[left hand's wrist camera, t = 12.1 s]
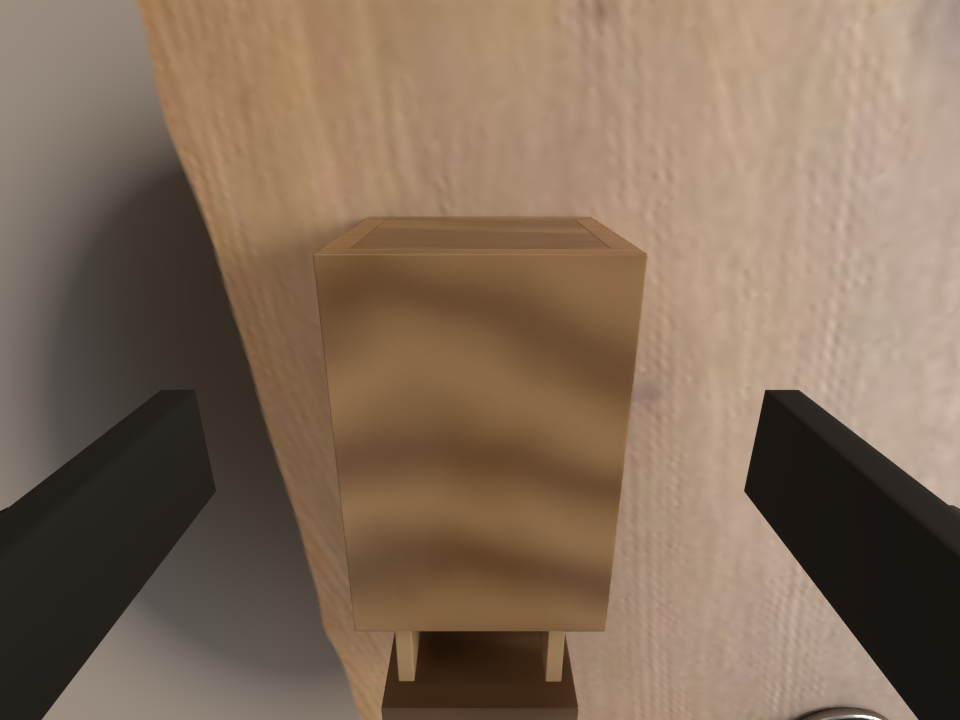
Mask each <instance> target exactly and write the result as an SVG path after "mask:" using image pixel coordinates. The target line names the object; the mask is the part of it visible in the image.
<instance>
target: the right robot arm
mask: <svg viewBox="0 0 960 720" xmlns="http://www.w3.org/2000/svg"><path fill="white" fill-rule="evenodd" d="M802 720H888V719H886V718H885V717H884V716H882V715H880V714H878V713H876V712H873V711H870V710H866V709H860V708H837V709H831V710H826V711H822V712H819V713H815V714H813V715H810V716H808V717H806V718H804V719H802Z"/></svg>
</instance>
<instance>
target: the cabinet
mask: <svg viewBox="0 0 960 720" xmlns="http://www.w3.org/2000/svg"><path fill="white" fill-rule="evenodd" d="M647 258H648V255H647V254H646V253H645V252H643V251H642V250H640V249H639V248H638V247H636V246H635V245H633V244H632V243H630V242H629V241H627V240H625V239H624V238H622V237H621V236H619V235H618V234H616V233H615V232H613V231H612V230H610V229H609V228H607V227H606V226H604V225H603V224H601V223H600V222H598V221H597V220H594V219H593V218H591V217H369V218H367V219H366V220H364V221H363V222H361V223H359V224H358V225H356V226H355V227H353V228H352V229H350V230H349V231H347V232H346V233H344V234H343V235H341V236H340V237H338V238H337V239H335V240H334V241H332V242H331V243H329V244H328V245H326V246H325V247H323V248H322V249H320V250H318V251H317V252H315V253H314V254H313V259H314V268H315V277H316V286H317V295H318V304H319V313H320V322H321V331H322V340H323V349H324V358H325V367H326V375H327V384H328V393H329V402H330V411H331V420H332V429H333V438H334V447H335V456H336V465H337V474H338V483H339V492H340V501H341V510H342V519H343V528H344V536H345V545H346V554H347V563H348V572H349V581H350V590H351V599H352V608H353V617H354V626H355V631H605V626H606V617H607V609H608V600H609V591H610V582H611V573H612V565H613V556H614V547H615V538H616V530H617V521H618V512H619V503H620V495H621V486H622V477H623V468H624V459H625V451H626V442H627V433H628V424H629V416H630V407H631V398H632V389H633V380H634V372H635V363H636V354H637V345H638V337H639V328H640V319H641V310H642V301H643V293H644V284H645V275H646V266H647Z"/></svg>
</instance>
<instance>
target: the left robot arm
mask: <svg viewBox="0 0 960 720" xmlns="http://www.w3.org/2000/svg"><path fill="white" fill-rule="evenodd" d="M215 491H216V489H215V485H214V480H213V475H212V470H211V465H210V461H209V456H208V452H207V447H206V442H205V437H204V432H203V428H202V423H201V418H200V413H199V409H198V404H197V399H196V394H195V390H161V391H159V392H158V393H157V394H155V395H154V396H153V397H152V398H150V399H149V400H148V401H146V402H145V403H144V404H142V405H141V406H140V407H139V408H137V409H136V410H135V411H133V412H132V413H131V414H129V415H128V416H127V417H126V418H124V419H123V420H122V421H120V422H119V423H118V424H116V425H115V426H114V427H113V428H111V429H110V430H109V431H107V432H106V433H105V434H104V435H102V436H101V437H100V438H98V439H97V440H96V441H94V442H93V443H92V444H91V445H89V446H88V447H87V448H85V449H84V450H83V451H81V452H80V453H79V454H78V455H76V456H75V457H74V458H72V459H71V460H70V461H69V462H67V463H66V464H65V465H63V466H62V467H61V468H59V469H58V470H57V471H55V472H54V473H53V474H52V475H50V476H49V477H48V478H46V479H45V480H44V481H42V482H41V483H40V484H39V485H37V486H36V487H35V488H33V489H32V490H31V491H30V492H28V493H27V494H26V495H24V496H23V497H22V498H20V499H19V500H18V501H16V502H15V503H14V504H13V505H11V506H10V507H7V508H5V509H3V510H2V511H0V720H42V718H43V717H44V716H45V714H46V713H47V712H48V711H49V709H50V708H51V707H52V705H53V704H54V703H55V701H56V700H57V699H58V697H59V696H60V695H61V693H62V692H63V691H64V690H65V688H66V687H67V685H68V684H69V683H70V682H71V680H72V679H73V678H74V676H75V675H76V674H77V672H78V671H79V670H80V669H81V667H82V666H83V665H84V663H85V662H86V661H87V659H88V658H89V657H90V655H91V654H92V653H93V651H94V650H95V649H96V648H97V646H98V645H99V644H100V642H101V641H102V640H103V638H104V637H105V636H106V634H107V633H108V632H109V630H110V629H111V628H112V627H113V625H114V624H115V623H116V621H117V620H118V619H119V617H120V616H121V615H122V613H123V612H124V611H125V609H126V608H127V607H128V606H129V604H130V603H131V602H132V600H133V599H134V598H135V596H136V595H137V594H138V592H139V591H140V590H141V588H142V587H143V586H144V585H145V583H146V582H147V581H148V579H149V578H150V577H151V575H152V574H153V573H154V571H155V570H156V569H157V568H158V566H159V565H160V564H161V562H162V561H163V560H164V558H165V557H166V556H167V554H168V553H169V552H170V550H171V549H172V548H173V547H174V545H175V544H176V543H177V541H178V540H179V539H180V537H181V536H182V535H183V533H184V532H185V531H186V530H187V528H188V527H189V526H190V524H191V523H192V522H193V520H194V519H195V518H196V516H197V515H198V514H199V512H200V511H201V510H202V508H203V507H204V506H205V505H206V503H207V502H208V501H209V499H210V498H211V497H212V495H213V494H214V493H215ZM744 491H745V493H746V494H747V495H748V497H749V498H750V499H751V501H752V502H753V503H754V505H755V506H756V507H757V509H758V510H759V511H760V512H761V514H762V515H763V516H764V518H765V519H766V520H767V522H768V523H769V524H770V526H771V527H772V528H773V530H774V531H775V532H776V533H777V535H778V536H779V537H780V539H781V540H782V541H783V543H784V544H785V545H786V547H787V548H788V549H789V551H790V552H791V553H792V554H793V556H794V557H795V558H796V560H797V561H798V562H799V564H800V565H801V566H802V568H803V569H804V570H805V571H806V573H807V574H808V575H809V577H810V578H811V579H812V581H813V582H814V583H815V585H816V586H817V587H818V589H819V590H820V591H821V592H822V594H823V595H824V596H825V598H826V599H827V600H828V602H829V603H830V604H831V606H832V607H833V608H834V610H835V611H836V612H837V613H838V615H839V616H840V617H841V619H842V620H843V621H844V623H845V624H846V625H847V627H848V628H849V629H850V631H851V632H852V633H853V634H854V636H855V637H856V638H857V640H858V641H859V642H860V644H861V645H862V646H863V648H864V649H865V650H866V651H867V653H868V654H869V655H870V657H871V658H872V659H873V661H874V662H875V663H876V665H877V666H878V667H879V669H880V670H881V671H882V672H883V674H884V675H885V676H886V678H887V679H888V680H889V682H890V683H891V684H892V686H893V687H894V688H895V690H896V691H897V692H898V693H899V695H900V696H901V697H902V699H903V700H904V701H905V703H906V704H907V705H908V707H909V708H910V709H911V711H912V712H913V713H914V714H915V716H916V717H917V718H918V720H960V509H959V508H957V507H955V506H953V505H947V504H946V503H945V502H944V501H942V500H941V499H940V498H938V497H937V496H936V495H934V494H933V493H932V492H931V491H929V490H928V489H927V488H925V487H924V486H923V485H921V484H920V483H919V482H918V481H916V480H915V479H914V478H912V477H911V476H910V475H908V474H907V473H906V472H905V471H903V470H902V469H901V468H899V467H898V466H897V465H895V464H894V463H893V462H892V461H890V460H889V459H888V458H886V457H885V456H884V455H882V454H881V453H880V452H879V451H877V450H876V449H875V448H873V447H872V446H871V445H869V444H868V443H867V442H866V441H864V440H863V439H862V438H860V437H859V436H858V435H856V434H855V433H854V432H853V431H851V430H850V429H849V428H847V427H846V426H845V425H844V424H842V423H841V422H840V421H838V420H837V419H836V418H834V417H833V416H832V415H831V414H829V413H828V412H827V411H825V410H824V409H823V408H821V407H820V406H819V405H818V404H816V403H815V402H814V401H812V400H811V399H810V398H808V397H807V396H806V395H805V394H803V393H802V392H801V391H799V390H765V394H764V399H763V404H762V409H761V413H760V418H759V423H758V428H757V432H756V437H755V442H754V447H753V451H752V456H751V461H750V465H749V470H748V475H747V480H746V484H745V489H744Z"/></svg>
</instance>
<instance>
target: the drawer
mask: <svg viewBox="0 0 960 720" xmlns="http://www.w3.org/2000/svg"><path fill="white" fill-rule="evenodd" d="M577 717H578V704H577V698H576V693H575V687H574V681H573V675H572V670H571V664H570V658H569V652H568V647H567V641H566V635H565V631H395V634H394V640H393V646H392V651H391V657H390V663H389V668H388V674H387V680H386V686H385V691H384V697H383V703H382V719H383V720H577Z"/></svg>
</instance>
